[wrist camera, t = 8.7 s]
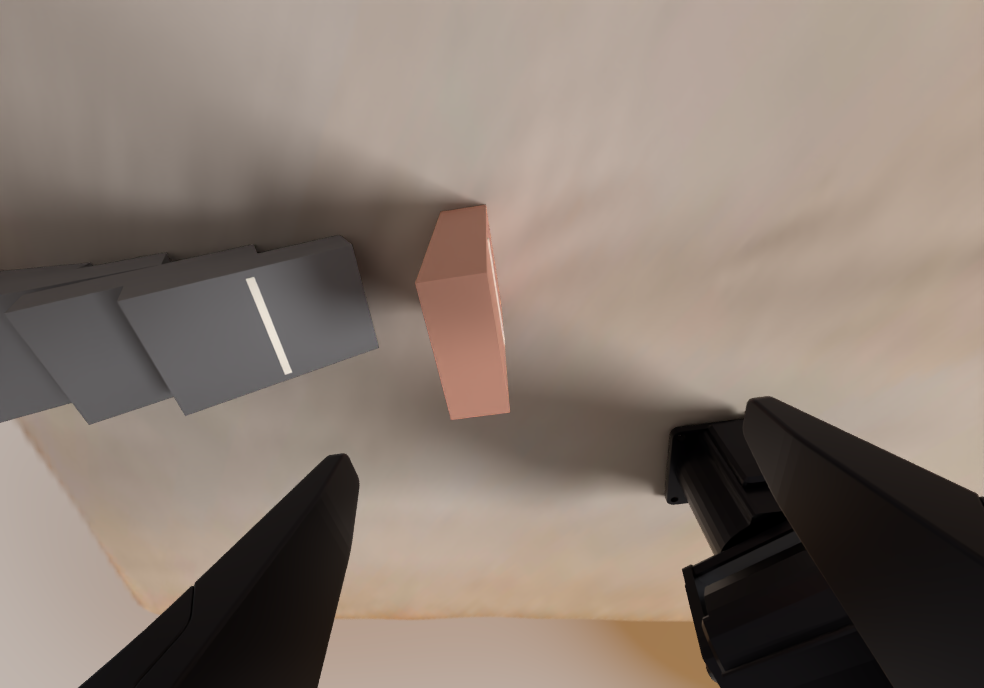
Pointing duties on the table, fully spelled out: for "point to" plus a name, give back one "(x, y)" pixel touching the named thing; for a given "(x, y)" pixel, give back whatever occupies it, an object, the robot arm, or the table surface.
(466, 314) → the domino
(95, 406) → the domino
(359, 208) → the table surface
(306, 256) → the domino
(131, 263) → the domino
